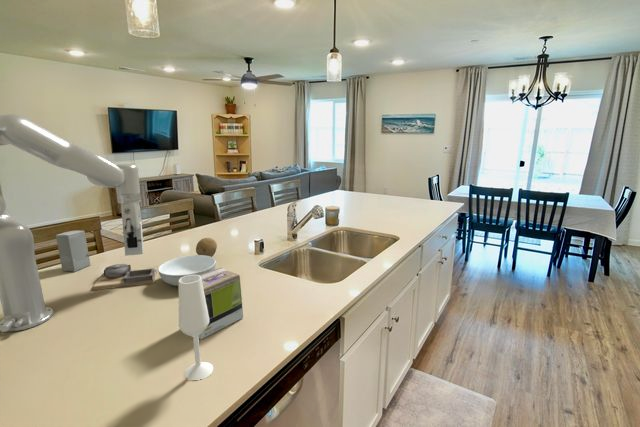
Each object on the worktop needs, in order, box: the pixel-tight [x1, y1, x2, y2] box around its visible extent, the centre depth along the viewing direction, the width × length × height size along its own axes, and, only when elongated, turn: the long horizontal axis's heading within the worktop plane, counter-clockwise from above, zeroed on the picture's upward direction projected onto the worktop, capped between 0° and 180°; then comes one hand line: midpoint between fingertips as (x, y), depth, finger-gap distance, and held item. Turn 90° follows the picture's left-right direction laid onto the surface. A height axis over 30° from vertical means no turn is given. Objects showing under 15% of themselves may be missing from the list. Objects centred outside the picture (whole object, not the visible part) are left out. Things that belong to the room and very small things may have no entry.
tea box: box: [177, 267, 244, 340], centre depth 100 cm, size 15×10×15 cm
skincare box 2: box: [122, 221, 144, 257], centre depth 127 cm, size 6×4×12 cm
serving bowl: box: [157, 254, 217, 287], centre depth 131 cm, size 21×21×7 cm
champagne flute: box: [178, 275, 214, 381], centre depth 78 cm, size 7×7×24 cm
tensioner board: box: [92, 263, 159, 291], centre depth 132 cm, size 14×20×5 cm
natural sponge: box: [195, 237, 218, 257], centre depth 153 cm, size 9×9×10 cm
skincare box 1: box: [55, 230, 91, 273], centre depth 142 cm, size 8×7×16 cm
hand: (134, 245), depth 127 cm, fingers closed on skincare box 2, 4 cm apart
